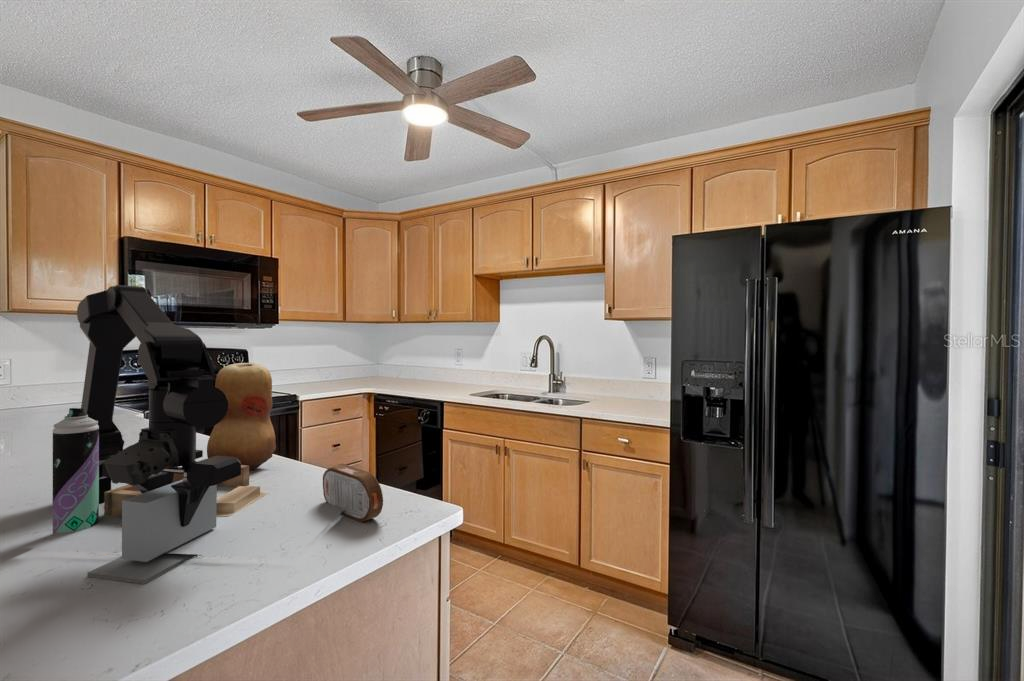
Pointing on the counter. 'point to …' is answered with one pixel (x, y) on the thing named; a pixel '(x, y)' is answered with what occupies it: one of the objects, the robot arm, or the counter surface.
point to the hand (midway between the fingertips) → (172, 524)
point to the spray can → (75, 472)
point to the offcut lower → (227, 514)
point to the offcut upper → (237, 498)
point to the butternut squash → (244, 415)
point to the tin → (353, 492)
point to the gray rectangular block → (162, 522)
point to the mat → (139, 568)
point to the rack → (122, 493)
